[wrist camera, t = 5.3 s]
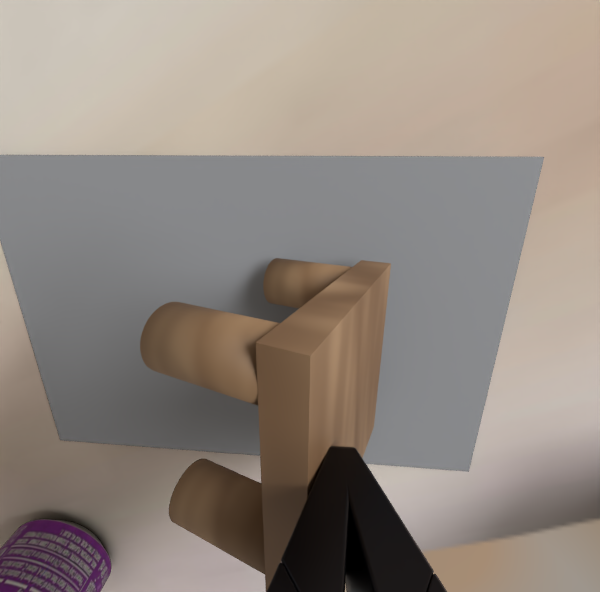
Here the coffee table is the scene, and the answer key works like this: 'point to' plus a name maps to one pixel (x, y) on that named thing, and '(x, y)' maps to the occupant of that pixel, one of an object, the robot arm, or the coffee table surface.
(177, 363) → the stool
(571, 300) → the coffee table surface
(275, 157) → the felt mat
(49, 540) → the beverage can
